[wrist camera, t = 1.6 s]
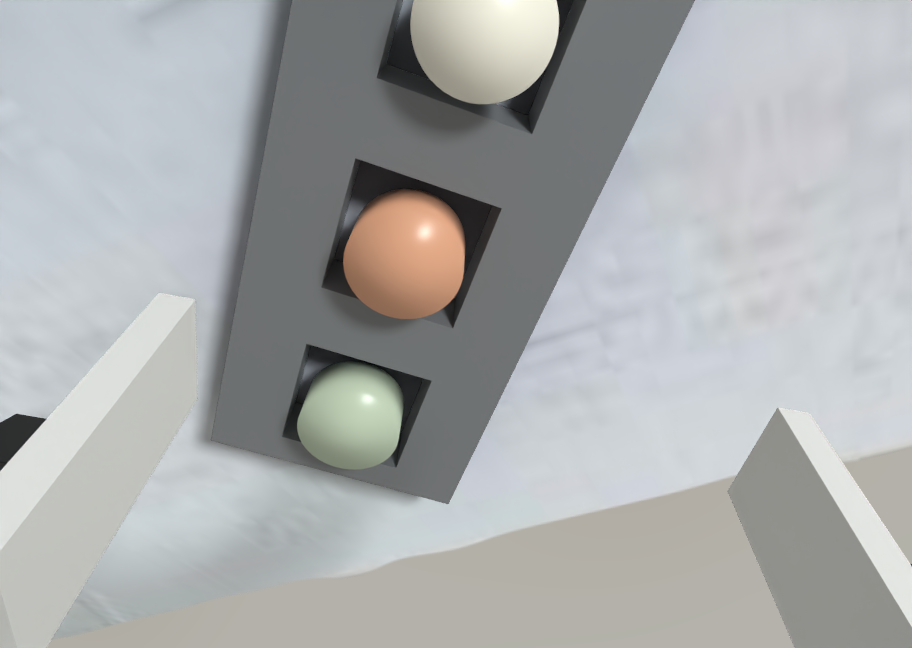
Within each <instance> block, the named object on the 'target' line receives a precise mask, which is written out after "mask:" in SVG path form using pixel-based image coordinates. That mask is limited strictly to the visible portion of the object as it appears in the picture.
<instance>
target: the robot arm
mask: <svg viewBox="0 0 912 648" xmlns="http://www.w3.org/2000/svg"><path fill="white" fill-rule="evenodd" d="M197 399H198V385H197V341H196V299H191V298H185V297H180V296H174V295H169V294H164V293H158V295H157V296H156V297H155V298H154V299H153V300H152V301H151V302H150V304H149V305H148V306H147V307H146V308H145V309H144V310H143V311H142V313H141V314H140V315H139V316H138V317H137V318H136V319H135V320H134V321H133V323H132V324H131V325H130V326H129V327H128V328H127V329H126V330H125V332H124V333H123V334H122V335H121V336H120V337H119V338H118V339H117V341H116V342H115V343H114V344H113V345H112V346H111V347H110V348H109V350H108V351H107V352H106V353H105V354H104V355H103V356H102V357H101V359H100V360H99V361H98V362H97V363H96V364H95V365H94V366H93V368H92V369H91V370H90V371H89V372H88V373H87V374H86V375H85V377H84V378H83V379H82V380H81V381H80V382H79V383H78V384H77V386H76V387H75V388H74V389H73V390H72V391H71V392H70V393H69V394H68V396H67V397H66V398H65V399H64V400H63V401H62V402H61V403H60V405H59V406H58V407H57V408H56V409H55V410H54V411H53V412H52V414H51V415H50V416H49V417H48V418H47V419H44V418H38V417H32V416H26V415H20V414H15V415H13V416H12V417H10V418H8V419H6V420H4V421H3V422H1V423H0V648H47V646H48V644H49V643H50V641H51V640H52V638H53V636H54V635H55V633H56V631H57V630H58V628H59V626H60V625H61V623H62V621H63V620H64V618H65V617H66V615H67V613H68V612H69V610H70V608H71V607H72V605H73V603H74V602H75V600H76V598H77V597H78V595H79V593H80V592H81V590H82V589H83V587H84V585H85V584H86V582H87V580H88V579H89V577H90V575H91V574H92V572H93V570H94V569H95V567H96V566H97V564H98V562H99V561H100V559H101V557H102V556H103V554H104V552H105V551H106V549H107V547H108V546H109V544H110V543H111V541H112V539H113V538H114V536H115V534H116V533H117V531H118V529H119V528H120V526H121V524H122V523H123V521H124V519H125V518H126V516H127V515H128V513H129V511H130V510H131V508H132V506H133V505H134V503H135V501H136V500H137V498H138V496H139V495H140V493H141V492H142V490H143V488H144V487H145V485H146V483H147V482H148V480H149V478H150V477H151V475H152V473H153V472H154V470H155V469H156V467H157V465H158V464H159V462H160V460H161V459H162V457H163V455H164V454H165V452H166V450H167V449H168V447H169V445H170V444H171V442H172V441H173V439H174V437H175V436H176V434H177V432H178V431H179V429H180V427H181V426H182V424H183V422H184V421H185V419H186V418H187V416H188V414H189V413H190V411H191V409H192V408H193V406H194V404H195V403H196V401H197ZM728 494H729V496H730V498H731V500H732V503H733V505H734V508H735V510H736V512H737V515H738V517H739V519H740V522H741V524H742V526H743V528H744V531H745V533H746V536H747V538H748V540H749V542H750V545H751V547H752V549H753V552H754V554H755V556H756V559H757V561H758V563H759V566H760V568H761V570H762V573H763V575H764V577H765V580H766V582H767V584H768V587H769V589H770V591H771V594H772V596H773V598H774V601H775V603H776V605H777V608H778V610H779V612H780V615H781V617H782V619H783V621H784V624H785V626H786V629H787V631H788V633H789V636H790V638H791V640H792V643H793V645H794V647H795V648H912V564H910V563H909V561H908V560H907V558H906V557H905V556H904V554H903V552H902V551H901V549H900V548H899V546H898V545H897V544H896V542H895V541H894V539H893V538H892V536H891V534H890V533H889V532H888V530H887V529H886V527H885V525H884V524H883V523H882V521H881V519H880V518H879V516H878V515H877V514H876V512H875V511H874V509H873V508H872V506H871V505H870V503H869V502H868V500H867V499H866V497H865V496H864V494H863V493H862V491H861V490H860V488H859V487H858V485H857V484H856V482H855V481H854V479H853V478H852V476H851V475H850V473H849V472H848V470H847V469H846V467H845V466H844V464H843V463H842V461H841V460H840V458H839V457H838V455H837V454H836V452H835V451H834V449H833V448H832V446H831V445H830V443H829V442H828V440H827V439H826V437H825V436H824V434H823V433H822V431H821V430H820V428H819V427H818V425H817V424H816V422H815V421H814V419H813V418H812V416H811V415H810V413H806V412H801V411H795V410H790V409H784V408H779V407H778V408H777V409H776V411H775V413H774V414H773V416H772V418H771V419H770V421H769V423H768V425H767V426H766V428H765V430H764V431H763V433H762V435H761V436H760V438H759V440H758V441H757V443H756V445H755V446H754V448H753V450H752V451H751V453H750V455H749V456H748V458H747V460H746V461H745V463H744V465H743V466H742V468H741V470H740V471H739V473H738V475H737V476H736V478H735V480H734V481H733V483H732V485H731V486H730V488H729V490H728Z"/></svg>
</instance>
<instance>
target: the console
mask: <svg viewBox="0 0 912 648" xmlns="http://www.w3.org/2000/svg"><path fill="white" fill-rule="evenodd" d="M694 1H695V0H574V1H573V3H572V6H571V8H570V11H569V13H568V16H567V18H566V21H565V24H564V26H563V29H562V31H561V34H560V36H559V39H558V41H557V44H556V46H555V49H554V52H553V55H552V57H551V59H550V61H549V64H548V66H547V69H546V71H545V74H544V76H543V79H542V81H541V84H540V86H539V89H538V91H537V94H536V96H535V99H534V101H533V104H532V107H531V109H530V112H529V114H528V116H527V115H524V114H521V113H519V112H516V111H513V110H511V109H508V108H505V107H502V106H500V105H497V104H494V103H493V104H473V103H468V102H464V101H461V100H458V99H456V98H454V97H452V96H450V95H448V94H447V93H445V92H443V91H442V90H441V89H440V88H438V87H437V86H436V85H435V84H434V83H433V82H432V81H431V80H429V79H426V78H423V77H421V76H418V75H415V74H412V73H410V72H407V71H404V70H402V69H399V68H396V67H393V66H391V65H388V64H386V63H387V59H388V55H389V52H390V48H391V44H392V41H393V37H394V33H395V29H396V26H397V22H398V18H399V15H400V11H401V7H402V3H403V0H292V3H291V9H290V14H289V20H288V25H287V31H286V36H285V41H284V47H283V52H282V58H281V63H280V69H279V74H278V79H277V85H276V90H275V96H274V101H273V106H272V112H271V117H270V123H269V128H268V134H267V139H266V144H265V150H264V155H263V161H262V166H261V172H260V177H259V182H258V188H257V193H256V199H255V204H254V209H253V215H252V220H251V226H250V231H249V237H248V242H247V247H246V253H245V258H244V264H243V269H242V275H241V280H240V285H239V291H238V296H237V302H236V307H235V312H234V318H233V323H232V329H231V334H230V340H229V345H228V350H227V356H226V361H225V367H224V372H223V378H222V383H221V388H220V394H219V399H218V405H217V410H216V415H215V421H214V426H213V432H212V437H211V441H215V442H219V443H222V444H226V445H230V446H234V447H237V448H241V449H245V450H248V451H252V452H256V453H260V454H263V455H267V456H271V457H274V458H278V459H282V460H286V461H289V462H293V463H297V464H301V465H304V466H308V467H312V468H315V469H319V470H323V471H327V472H330V473H334V474H338V475H342V476H345V477H349V478H353V479H356V480H360V481H364V482H368V483H371V484H375V485H379V486H383V487H386V488H390V489H394V490H397V491H401V492H405V493H409V494H412V495H416V496H420V497H423V498H427V499H431V500H435V501H438V502H442V503H446V504H449V502H450V500H451V498H452V496H453V494H454V491H455V489H456V487H457V485H458V483H459V481H460V479H461V477H462V475H463V473H464V471H465V469H466V467H467V465H468V463H469V461H470V459H471V457H472V455H473V453H474V451H475V449H476V447H477V444H478V442H479V440H480V438H481V436H482V434H483V432H484V430H485V428H486V426H487V424H488V422H489V420H490V418H491V416H492V414H493V412H494V410H495V408H496V406H497V404H498V402H499V400H500V397H501V395H502V393H503V391H504V389H505V387H506V385H507V383H508V381H509V379H510V377H511V375H512V373H513V371H514V369H515V367H516V365H517V363H518V361H519V359H520V357H521V355H522V353H523V350H524V348H525V346H526V344H527V342H528V340H529V338H530V336H531V334H532V332H533V330H534V328H535V326H536V324H537V322H538V320H539V318H540V316H541V314H542V312H543V310H544V308H545V306H546V303H547V301H548V299H549V297H550V295H551V293H552V291H553V289H554V287H555V285H556V283H557V281H558V279H559V277H560V275H561V273H562V271H563V269H564V267H565V265H566V263H567V261H568V258H569V256H570V254H571V252H572V250H573V248H574V246H575V244H576V242H577V240H578V238H579V236H580V234H581V232H582V230H583V228H584V226H585V224H586V222H587V220H588V218H589V216H590V214H591V211H592V209H593V207H594V205H595V203H596V201H597V199H598V197H599V195H600V193H601V191H602V189H603V187H604V185H605V183H606V181H607V179H608V177H609V175H610V173H611V171H612V169H613V167H614V164H615V162H616V160H617V158H618V156H619V154H620V152H621V150H622V148H623V146H624V144H625V142H626V140H627V138H628V136H629V134H630V132H631V130H632V128H633V126H634V124H635V122H636V120H637V117H638V115H639V113H640V111H641V109H642V107H643V105H644V103H645V101H646V99H647V97H648V95H649V93H650V91H651V89H652V87H653V85H654V83H655V81H656V79H657V77H658V75H659V73H660V70H661V68H662V66H663V64H664V62H665V60H666V58H667V56H668V54H669V52H670V50H671V48H672V46H673V44H674V42H675V40H676V38H677V36H678V34H679V32H680V30H681V28H682V25H683V23H684V21H685V19H686V17H687V15H688V13H689V11H690V9H691V7H692V5H693V3H694ZM360 160H362V161H365V162H368V163H371V164H374V165H377V166H379V167H382V168H385V169H388V170H391V171H394V172H397V173H400V174H403V175H406V176H409V177H412V178H414V179H417V180H420V181H423V182H426V183H429V184H432V185H435V186H438V187H441V188H444V189H447V190H450V191H452V192H455V193H458V194H461V195H464V196H467V197H470V198H473V199H476V200H479V201H482V202H485V203H487V204H490V205H492V207H491V210H490V212H489V215H488V217H487V220H486V222H485V225H484V227H483V230H482V232H481V235H480V237H479V240H478V242H477V245H476V247H475V250H474V252H473V255H472V257H471V260H470V262H469V265H468V267H467V270H466V272H465V275H464V278H463V280H462V283H461V286H460V288H459V290H458V293H457V295H456V298H453V299H452V300H451V302H450V303H449V304H447V305H446V306H445V307H444V308H442V309H441V310H439V311H438V312H436V313H434V314H432V315H429V316H426V317H422V318H417V319H398V318H393V317H389V316H385V315H383V314H380V313H378V312H376V311H374V310H372V309H371V308H369V307H368V306H366V305H365V304H364V303H363V302H362V301H361V300H360V299H359V298H358V297H357V296H356V295H355V294H354V292H353V291H352V289H351V288H350V286H349V284H348V282H347V279H346V276H345V272H344V265H343V262H340V261H337V260H334V256H335V253H336V249H337V245H338V242H339V238H340V234H341V230H342V227H343V223H344V219H345V216H346V212H347V208H348V204H349V201H350V197H351V193H352V189H353V186H354V182H355V178H356V175H357V171H358V167H359V163H360ZM311 345H312V346H316V347H319V348H323V349H326V350H329V351H333V352H336V353H339V354H343V355H346V356H350V357H353V358H356V359H360V360H363V361H366V362H370V363H373V364H377V365H380V366H383V367H387V368H390V369H393V370H397V371H400V372H404V373H407V374H410V375H414V376H417V377H420V378H423V381H422V383H421V386H420V388H419V391H418V393H417V396H416V398H415V401H414V403H413V406H412V408H411V411H410V413H409V416H408V418H407V421H406V423H405V426H404V428H403V431H402V432H400V434H399V440H398V444H397V447H396V449H395V451H394V452H393V453H392V455H391V456H390V457H389V458H388V459H386V460H385V461H384V462H382V463H380V464H378V465H376V466H373V467H370V468H366V469H357V470H352V469H342V468H338V467H334V466H331V465H328V464H326V463H324V462H322V461H320V460H319V459H317V458H316V457H314V456H313V455H312V454H311V453H310V452H309V451H308V450H307V449H306V448H305V447H304V445H303V444H302V442H301V440H300V438H299V435H298V431H297V422H298V417H299V415H300V412H301V409H302V407H303V404H299V403H296V398H297V394H298V391H299V387H300V383H301V379H302V376H303V372H304V368H305V364H306V361H307V357H308V353H309V350H310V346H311Z"/></svg>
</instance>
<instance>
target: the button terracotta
mask: <svg viewBox="0 0 912 648" xmlns="http://www.w3.org/2000/svg"><path fill="white" fill-rule="evenodd" d="M464 260H465V234H464V230H463V226H462V224H461V222H460V220H459V218H458V216H457V215H456V213H455V212H454V211H453V209H452V208H451V207H450V206H449V205H448V204H447V203H445V202H444V201H443V200H441V199H440V198H438V197H436V196H435V195H433V194H430V193H428V192H425V191H421V190H416V189H396V190H392V191H388V192H386V193H383V194H381V195H379V196H377V197H376V198H374V199H373V200H372V201H370V202H369V203H368V204H367V205H366V206H365V207H364V209H363V210H362V211H361V213H360V215H359V217H358V219H357V221H356V223H355V226H354V228H353V230H352V233H351V235H350V237H349V240H348V242H347V245H346V247H345V251H344V258H343V265H344V272H345V276H346V279H347V282H348V284H349V286H350V288H351V289H352V291H353V292H354V294H355V295H356V296H357V297H358V298H359V299H360V300H361V301H362V302H363V303H364V304H365V305H366V306H368V307H369V308H371V309H372V310H374V311H376V312H378V313H380V314H383V315H385V316H389V317H393V318H398V319H417V318H422V317H426V316H429V315H432V314H434V313H436V312H438V311H439V310H441V309H442V308H444V307H445V306H446V305H447V304H449V303H450V302H451V300H452V299H453V298H454V297H455V295H456V294H457V292H458V290H459V288H460V286H461V283H462V280H463V274H464Z"/></svg>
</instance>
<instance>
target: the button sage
mask: <svg viewBox="0 0 912 648" xmlns="http://www.w3.org/2000/svg"><path fill="white" fill-rule="evenodd" d="M403 410H404V397H403V393H402V391H401V388H400V387H399V385H398V383H397V382H396V381H395V380H394V379H393V378H392V377H391V376H390V375H389V374H388V373H386V372H385V371H383V370H382V369H380V368H378V367H376V366H373V365H371V364H367V363H363V362H356V361H348V362H340V363H336V364H333V365H330V366H328V367H326V368H325V369H323V370H321V371H320V372H319V373H318V374H317V375H316V376H315V378H314V379H313V381H312V383H311V385H310V388H309V391H308V393H307V396H306V399H305V401H304V404H303V407H302V409H301V412H300V415H299V417H298V422H297V431H298V435H299V438H300V440H301V442H302V444H303V445H304V447H305V448H306V449H307V450H308V451H309V452H310V453H311V454H312V455H313V456H314V457H316V458H317V459H319V460H320V461H322V462H324V463H326V464H328V465H331V466H334V467H338V468H342V469H352V470H357V469H366V468H370V467H373V466H376V465H378V464H380V463H382V462H384V461H385V460H386V459H388V458H389V457H390V456H391V455H392V453H393V452H394V451H395V449H396V447H397V444H398V440H399V434H400V428H401V422H402V416H403Z"/></svg>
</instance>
